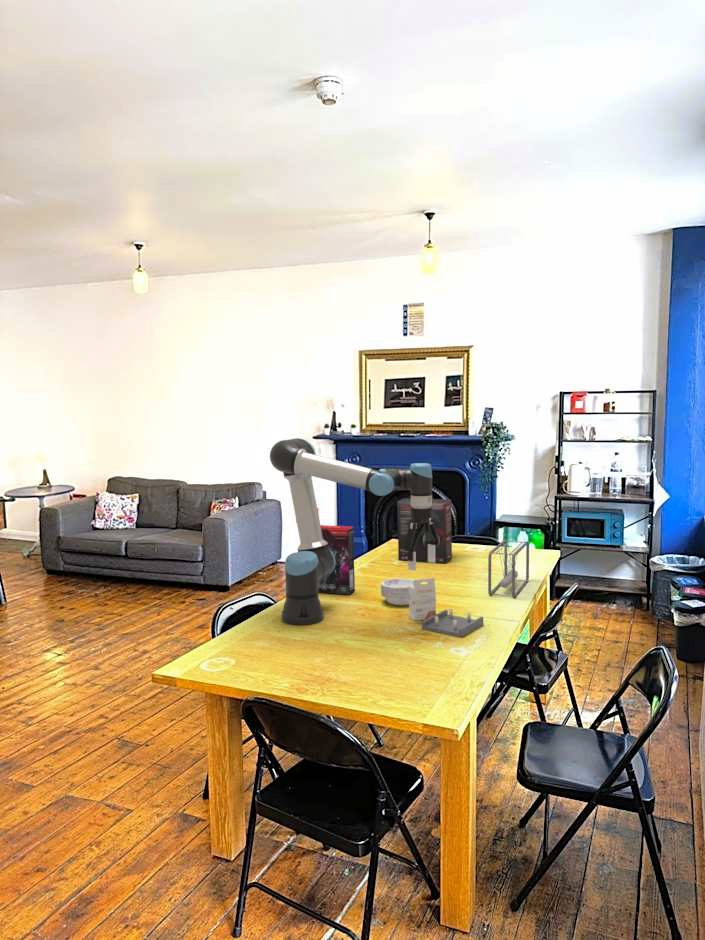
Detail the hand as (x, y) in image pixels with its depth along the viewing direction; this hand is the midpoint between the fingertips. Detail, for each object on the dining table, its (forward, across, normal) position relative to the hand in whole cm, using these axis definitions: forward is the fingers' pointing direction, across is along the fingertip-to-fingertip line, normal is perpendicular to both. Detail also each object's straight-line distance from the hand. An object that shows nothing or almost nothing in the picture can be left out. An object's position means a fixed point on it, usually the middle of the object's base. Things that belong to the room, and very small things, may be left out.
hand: (422, 566), depth 247 cm
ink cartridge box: (+19, 0, 0) cm, 19 cm away
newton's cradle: (+19, +54, -9) cm, 58 cm away
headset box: (+19, +80, +47) cm, 95 cm away
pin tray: (+19, -3, -14) cm, 24 cm away
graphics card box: (+19, +9, +48) cm, 52 cm away
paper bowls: (+19, +12, +17) cm, 28 cm away
